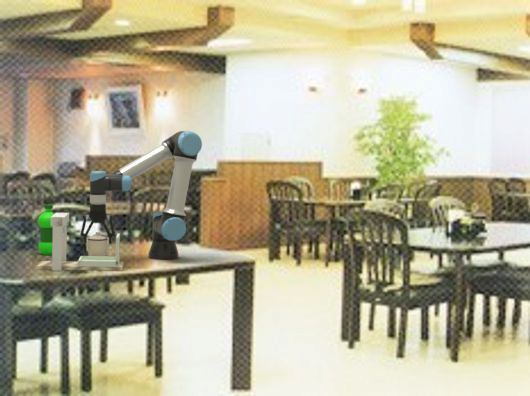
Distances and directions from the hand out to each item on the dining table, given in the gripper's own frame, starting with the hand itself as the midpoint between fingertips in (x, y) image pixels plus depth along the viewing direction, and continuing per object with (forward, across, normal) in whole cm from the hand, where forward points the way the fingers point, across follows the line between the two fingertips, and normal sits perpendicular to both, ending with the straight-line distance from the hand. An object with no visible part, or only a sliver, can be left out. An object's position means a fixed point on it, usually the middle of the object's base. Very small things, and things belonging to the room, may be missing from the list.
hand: (97, 250), depth 451 cm
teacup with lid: (+3, +1, 0) cm, 3 cm away
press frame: (+6, +16, +16) cm, 24 cm away
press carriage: (+4, -2, +16) cm, 17 cm away
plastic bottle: (+6, +26, -28) cm, 39 cm away
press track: (+6, +6, +16) cm, 18 cm away
